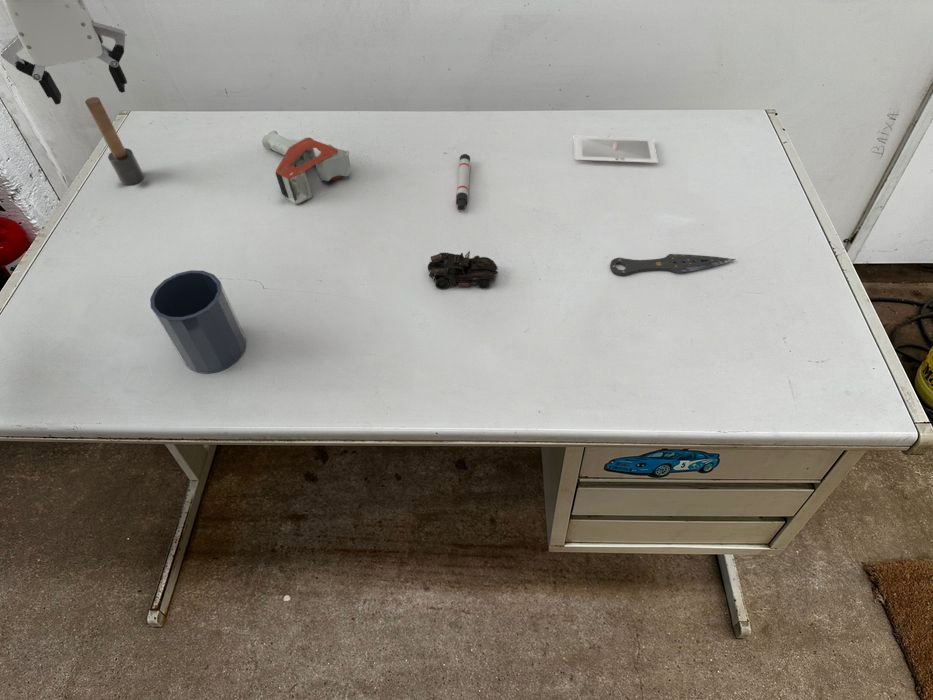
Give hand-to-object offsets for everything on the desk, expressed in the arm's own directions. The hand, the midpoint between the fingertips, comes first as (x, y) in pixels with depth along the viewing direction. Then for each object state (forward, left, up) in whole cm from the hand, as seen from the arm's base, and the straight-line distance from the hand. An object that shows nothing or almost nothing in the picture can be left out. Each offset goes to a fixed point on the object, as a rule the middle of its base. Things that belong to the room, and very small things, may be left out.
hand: (90, 94), depth 98 cm
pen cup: (+10, -46, -16) cm, 50 cm away
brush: (0, 0, -16) cm, 16 cm away
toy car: (+48, -45, -16) cm, 68 cm away
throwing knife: (+79, -54, -16) cm, 97 cm away
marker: (+55, -24, -16) cm, 62 cm away
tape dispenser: (+30, -9, -16) cm, 35 cm away
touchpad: (+85, -24, -16) cm, 90 cm away
